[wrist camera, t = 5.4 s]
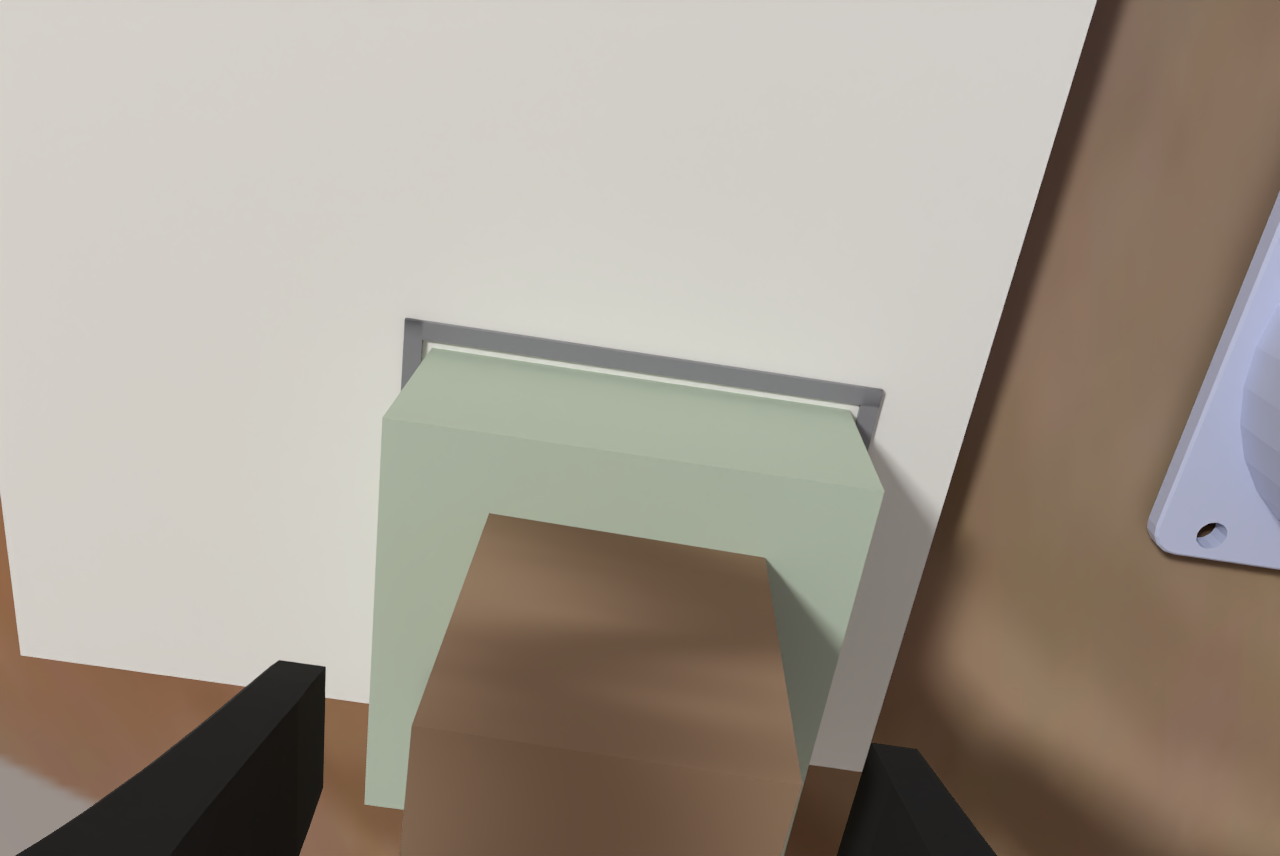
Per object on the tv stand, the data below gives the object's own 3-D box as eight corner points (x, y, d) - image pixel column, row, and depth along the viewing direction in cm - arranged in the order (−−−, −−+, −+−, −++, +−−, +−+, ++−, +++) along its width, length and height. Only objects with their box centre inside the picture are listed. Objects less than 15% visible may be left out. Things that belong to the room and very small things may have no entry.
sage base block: (849, 410, 16) (884, 491, 14) (767, 738, 19) (782, 861, 16) (431, 347, 16) (382, 417, 13) (409, 688, 19) (364, 804, 16)
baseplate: (1136, -224, 14) (1173, -242, 13) (853, 737, 20) (862, 775, 19) (-64, -426, 13) (-126, -462, 12) (50, 625, 20) (17, 658, 19)
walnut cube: (765, 557, 14) (802, 785, 10) (711, 771, 16) (724, 1043, 12) (489, 513, 14) (411, 725, 10) (463, 733, 16) (386, 995, 11)
